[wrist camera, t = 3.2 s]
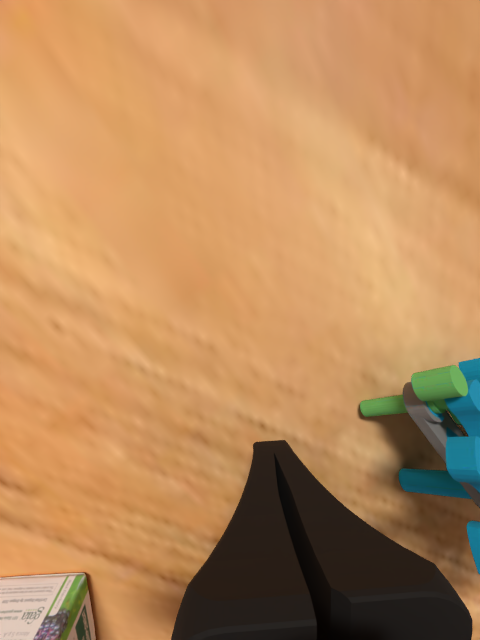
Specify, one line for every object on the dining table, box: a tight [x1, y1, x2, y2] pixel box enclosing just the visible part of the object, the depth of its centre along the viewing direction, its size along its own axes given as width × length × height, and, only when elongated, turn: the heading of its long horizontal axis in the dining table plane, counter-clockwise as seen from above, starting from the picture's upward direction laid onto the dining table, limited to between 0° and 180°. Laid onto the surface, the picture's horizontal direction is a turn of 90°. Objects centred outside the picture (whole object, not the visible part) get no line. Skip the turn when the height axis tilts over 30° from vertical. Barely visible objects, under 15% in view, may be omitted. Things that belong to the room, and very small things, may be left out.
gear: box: [360, 358, 480, 574], centre depth 12 cm, size 11×6×10 cm
